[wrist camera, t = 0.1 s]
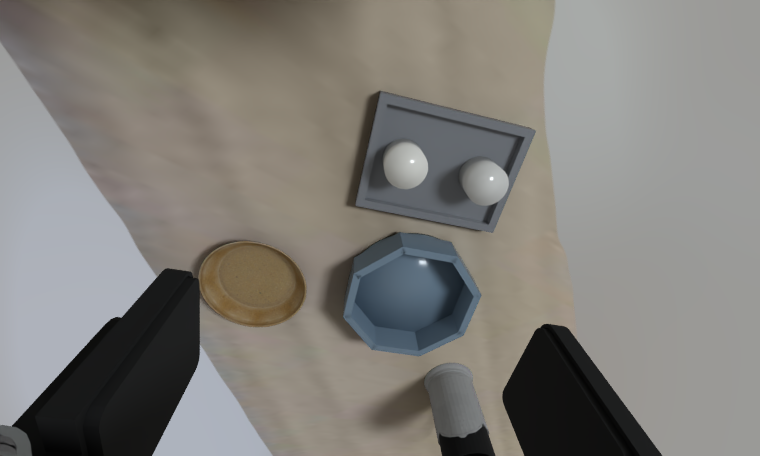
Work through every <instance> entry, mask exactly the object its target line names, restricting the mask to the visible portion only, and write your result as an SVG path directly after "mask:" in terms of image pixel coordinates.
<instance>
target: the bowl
mask: <svg viewBox="0 0 760 456" xmlns="http://www.w3.org/2000/svg"><path fill="white" fill-rule="evenodd" d="M480 297H481V293H480V291H479V289H478V287H477V285H476V283H475V281H474V279H473V277H472V276H471V274H470V272H469V271H468V269H467V267H466V266H465V264H464V262H463V260H462V258H461V257H460V256H459V254H458V252H457V251H456V249H455V247H454V246H453V244H452V243H451V242H449V241H444V240H440V239H438V238H436V237H433V236H429V235H425V234H418V233H402V232H399V233H397V234H395V235H394V236H390V237H387V238H384V239H382V240H380V241H378V242H376V243H375V244H373V245H371V246H370V247H369V248H367V249H366V250H365V251H364V252H363V253H362V254H360V255H358V256H356V257H355V258H354V261H353V265H352V269H351V272H350V275H349V281H348V286H347V290H346V294H345V298H344V312H343V318H344V319H345V320H346V321H347V322H348V323H349V325H350V326H351V327H352V328H353V329H354V330H355V331H356V333H357V334H358V335H359V336H360V337H361V338H362V339H363V341H364V342H365V343H366V344H367V345H368V346H369V347H370V348H371V350H378V351H385V352H392V353H399V354H407V355H414V356H421V355H423V354H425V353H427V352H430V351H432V350H434V349H436V348H438V347H440V346H442V345H444V344H446V343H448V342H451V341H453V340H455V339H457V338H459V337H461V336H463V335H464V333H465V331H466V329H467V327H468V324H469V322H470V320H471V318H472V315H473V313H474V311H475V309H476V306H477V304H478V302H479V300H480Z"/></svg>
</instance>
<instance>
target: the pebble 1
mask: <svg viewBox="0 0 760 456" xmlns="http://www.w3.org/2000/svg"><path fill="white" fill-rule="evenodd" d="M382 160H383V166H384V172H385V176H386V178H387V180H388V181H389V182H390V183H391V184H392V185H393V186H395V187H397V188H400V189H411V188H414V187H416V186H418V185H419V184H420V183H421V182H422V181H423V180H424V179H425V177H426V175H427V172H428V162H427V159H426V157H425V155H424V154H423V152H422V150H421V148H420V147H419V146H418V144H417V143H415V142H414V141H412V140H410V139H403V138H402V139H397V140H395V141H393V142H391V143H390V144H389V145H388V146H387V147H386V149H385V150H384V153H383V159H382Z"/></svg>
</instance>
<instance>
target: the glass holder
mask: <svg viewBox="0 0 760 456" xmlns="http://www.w3.org/2000/svg"><path fill="white" fill-rule="evenodd" d="M472 382H473V375H472V372H471V371H470V369H469V368H467V367H466V366H464V365H462V364H458V363H446V364H442V365H439V366H437V367H435V368H433V369H432V370H431V371H429V373H428V374H427V375H426V377H425V380H424V385H425V388H426V390H427V391H428V392H429V397H430V402H431V407H432V413H433V418H434V423H435V428H436V433H437V438H438V443H439V445H440V447H441V452H442V456H495V453H494V450H493V447H492V444H491V441H490V438H489V431H488V428H487V425H486V422H485V419H484V416H483V413H482V410H481V407H480V404H479V401H478V398H477V395H476V392H475V389H474V386H473V383H472Z"/></svg>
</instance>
